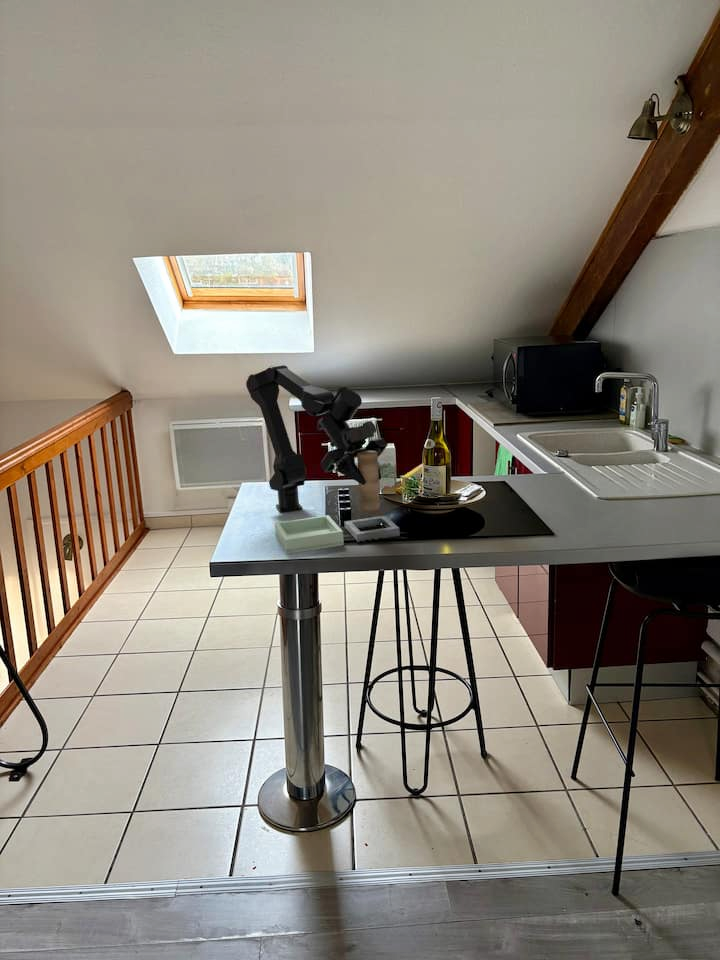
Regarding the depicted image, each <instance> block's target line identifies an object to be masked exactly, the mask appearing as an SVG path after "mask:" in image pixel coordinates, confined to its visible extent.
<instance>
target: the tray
mask: <svg viewBox="0 0 720 960" xmlns="http://www.w3.org/2000/svg"><path fill="white" fill-rule="evenodd" d="M274 530H275V531H274V532H275V537H276V538H277V540H278V542H279V544H280V545H281V547H282V548H283V550H284V552H285V553H286V555H288V554H295V553H300V552H308V551H315V550H322V549H328V548H333V547H335V548H336V547H339V546H344V545H345V544H344V543H345V542H344V531H343V530H342V528H340V526H339V525H338V524H337V523H336V522H335V521H334V520H333V519H332V518H331V516H330V515H329V514H327V515H320V516H318V515H317V516H312V517H306V518H304V517H303V518H299V519H298V518H297V519H293V520H292V519H291V520H283V521H277V522H274Z"/></svg>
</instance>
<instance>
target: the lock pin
mask: <svg viewBox="0 0 720 960" xmlns="http://www.w3.org/2000/svg"><path fill="white" fill-rule="evenodd" d="M356 458H357V459H356V460H357V462H356V463H357V467H358V469H359V471H360V472H361V474H362V475H363V477H364V479H365V481H366V483H365V485H362V484H360V483H359V482H358V495H359V497H358V499H359V509H360V510H361V511H366V512H367V511H368V512H371V511H376V510H380V509H381V500H380V498H381V497H380V496H381V495H379V475H378V453H377V452H376V451H361V452H358V453H357V457H356Z"/></svg>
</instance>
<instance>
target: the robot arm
mask: <svg viewBox="0 0 720 960" xmlns="http://www.w3.org/2000/svg"><path fill="white" fill-rule="evenodd" d="M245 386H246V389H247V391H248V393H249V395H250V397H251V400H252V401H254V403H256V404H257V405H258V406H259V408H260V410H261V414H262V416H263V420H264V423H265V426H266V429H267V432H268V435H269V439H270V442H271V446H272V449H273V451H274V456H275V457H274V460H273V466H272V467H273V471H274V473H273V475H272V476H271V478H270V479H269V481H268V484H269V488H270V490H273V491H277V499H278V503H277V504H275V507H276V509H277V511H278V512H279V513H283V512H285V513H286V512H292V511H298V510H300V511H301V510H303V506H302V505H301V504H300V499H299V490H298V489H299V487H300V486H305V481H306V476H307V465H306V463H305V461H304V457H303V455H302V453H296V452H295V451H294V449H293V448H292V447H293V446H292V444H291V441H290V438H289V437H290V436H289V434H288V431H287V429H286V428H287V427H286V425H285V422H284V419H283V415H282V412H281V409H280V406H279V403H278V399H279V396H280V395H279V394H280V387H281V388H282V389H284V390H286V391H287V392H288V393H290V394H291V395H292V396H293V397H295V398H296V399H297V400H298V401H300V403H301V408H302V409H303V410H304V411H305V412H306V413H307V414H308V415H309V416H311V417H317V416H321V415H323V416H322V417H321V418H320V419H319V418H318V420H317V425H316V430H317V431H321V430H324V431H325V433H326V435H327V436H328V437H329V438H330V441H331V442H330V443H329V445H330V446H331V448H336V449H331V450H328V451H327V453H326V454H325V456H323V459H322V460H321V461H320V467H321V469H322V470H323V472H324V473H329V472H333V471H334V472H336V473H340V474H342V475H344V476H346V477H348V478H350V479H352V480H353V481H355V482H357V483H358V484H359V483H360V484H362V485H365V483H366V481H365V479H364V477H363V475H362V474H361V472H360V471H359V469H358V465H356V461H355V459H356V458H357V453H358V452H361V451H376V452H377V453H378V457H379V456H380V454H381V453H382V452H383V451H384V449H385V448H386V447H387V446H388V444H389V443H387V442H386V440H385V439H384V437H383V438H382V437H378V438H373V439H371V440H370V441H369V442H367V441H366V440H367V439H369V438H372V437H375V433H377V428H376V427H377V426H376V425H375V423H373V422H372V420H370V421H369V420H368V421H366V422H365V423H362V425H359V426H356V427H354V426H351V427H350V425H349V424H348V421H351V420H352V418H353V416H355V414H356V413H357V411H358V410H359V408H360V407H361V405H362V403H363V400H362V397H361V396H360V394H359V393H356V392H355V391H353V390H351V389H348V387H347V386H341V387H339V388H338V389H337V391H336V394H335V395H334V393H333V392H331V391H330V390H327V389H326V388H323V387H317V386H314V385H311V384H310V383H308V381H306V380H305V379H303V378H302V377H300V376H299V375H297V374H296V373H295V372H293V371H292V370H291V369H289V367H288V366H287V365H285V364H279V365H277V364H276V365H272V366H271V365H270V367H267V368H266V369H265V370H262V371H260V372H258V373H257V372H256V373H252V374H249V376H248V377H247V380H246V383H245ZM279 386H280V387H279ZM366 443H367V444H366ZM365 444H366V446H365V447H363V445H365ZM335 465H336V469H335ZM378 475H379V480H380V479H381V473H380V469H379V465H378Z"/></svg>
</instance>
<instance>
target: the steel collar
mask: <svg viewBox="0 0 720 960" xmlns="http://www.w3.org/2000/svg"><path fill="white" fill-rule="evenodd" d="M381 523H382V524H383V525H384V526H385V527H386V528H384V527H382V528H377V529H371V530H370V529H369V530H363V531H361V530H360V529H358V528H357V527H367V526H374V527H376V526H375V525H379V524H381ZM343 524H344V529H345V528H346V529H347V530H348V531H349V532H350V533H351V535H352V536H353V537H354V538H355V539H356V541H357V542H356V543H361V542H360V541H362V542H366V541H365V540H369V541H372V540H371V539H375V540H380V539H379V538H382V539H388V538H393V537H399V536H400V534H401V533H400V527H399V526H398V525H396V523H394V522H393V521H392V520H391V519H390V518H389V517H387V516H386V515H380V516H379V515H378V516H373V517H366V518H359V519H353V520H346V521H345V520H344V522H343ZM351 535H350V536H351ZM352 536H351V537H352ZM353 537H352V538H353ZM354 538H353V539H354ZM355 539H354V540H355Z"/></svg>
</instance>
